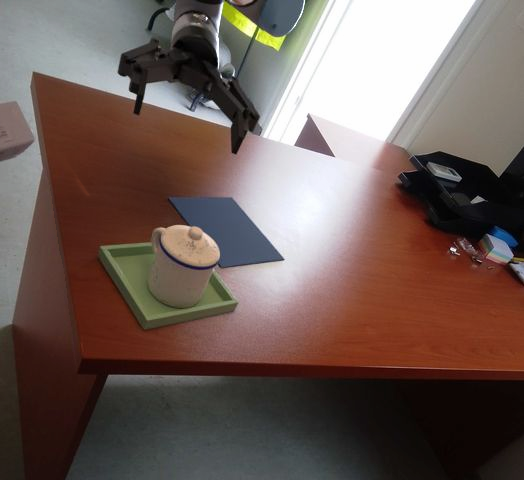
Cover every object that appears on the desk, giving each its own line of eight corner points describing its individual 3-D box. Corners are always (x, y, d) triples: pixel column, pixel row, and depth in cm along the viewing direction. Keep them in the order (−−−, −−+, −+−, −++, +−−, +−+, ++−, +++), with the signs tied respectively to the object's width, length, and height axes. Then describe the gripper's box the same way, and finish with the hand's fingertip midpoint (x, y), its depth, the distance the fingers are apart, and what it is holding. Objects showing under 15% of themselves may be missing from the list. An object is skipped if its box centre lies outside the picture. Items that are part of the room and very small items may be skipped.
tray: (97, 256, 70) (99, 245, 69) (187, 248, 81) (191, 239, 79) (144, 330, 64) (147, 320, 63) (234, 310, 75) (239, 302, 74)
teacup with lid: (213, 301, 74) (239, 245, 66) (169, 317, 68) (193, 256, 60) (168, 253, 77) (188, 194, 69) (122, 264, 71) (139, 200, 63)
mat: (167, 198, 88) (168, 197, 88) (231, 198, 99) (231, 197, 99) (221, 268, 81) (221, 267, 81) (284, 260, 91) (284, 259, 91)
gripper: (119, -16, 64) (96, 54, 53) (275, 63, 74) (286, 138, 62) (109, 38, 70) (86, 113, 58) (256, 105, 80) (262, 181, 68)
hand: (190, 126), depth 60 cm, fingers open, 13 cm apart
